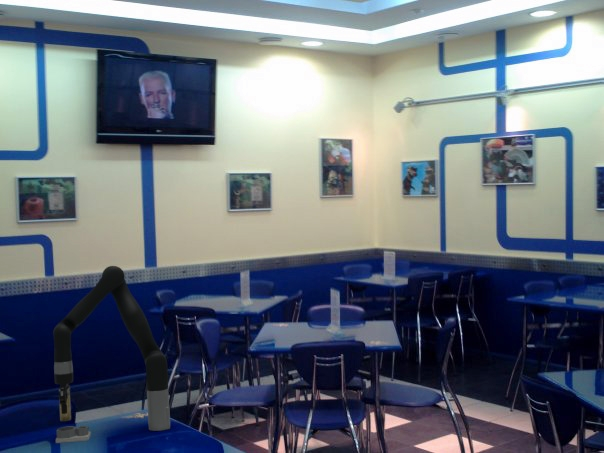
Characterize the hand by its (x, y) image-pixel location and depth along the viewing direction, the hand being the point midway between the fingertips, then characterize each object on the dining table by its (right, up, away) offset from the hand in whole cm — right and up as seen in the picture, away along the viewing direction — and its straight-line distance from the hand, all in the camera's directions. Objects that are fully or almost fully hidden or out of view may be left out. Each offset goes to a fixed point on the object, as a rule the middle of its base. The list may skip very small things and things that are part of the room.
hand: (65, 411), depth 326 cm
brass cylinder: (0, -3, 0) cm, 3 cm away
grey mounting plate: (+3, -11, 0) cm, 12 cm away
